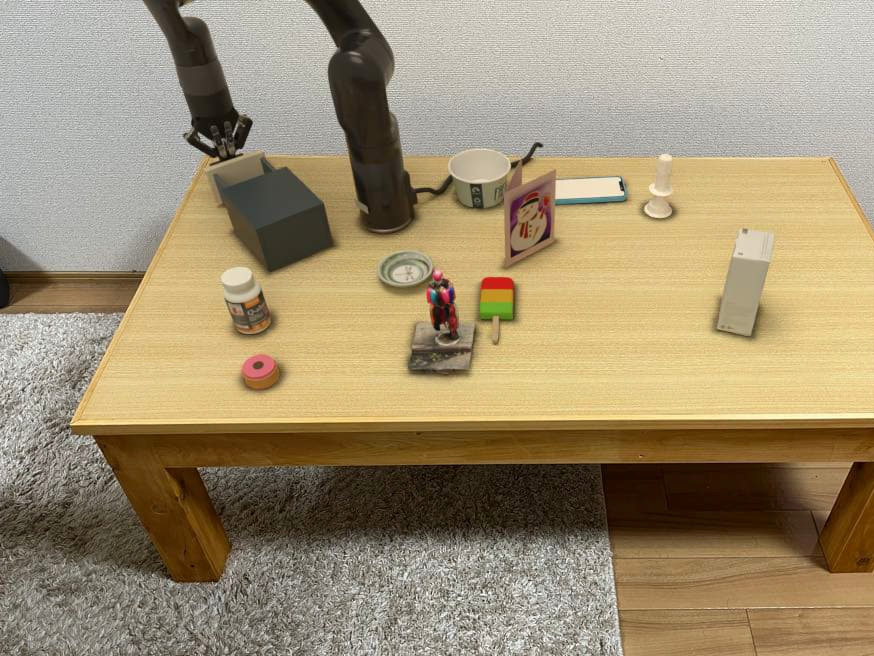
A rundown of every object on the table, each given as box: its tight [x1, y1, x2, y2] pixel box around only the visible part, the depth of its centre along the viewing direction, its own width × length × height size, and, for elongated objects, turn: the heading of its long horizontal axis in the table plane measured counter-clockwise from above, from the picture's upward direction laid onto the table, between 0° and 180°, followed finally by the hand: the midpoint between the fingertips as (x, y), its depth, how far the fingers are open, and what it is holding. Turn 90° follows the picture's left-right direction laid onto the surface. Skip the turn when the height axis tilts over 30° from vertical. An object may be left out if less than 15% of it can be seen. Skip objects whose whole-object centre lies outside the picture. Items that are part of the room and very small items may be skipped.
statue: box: [406, 268, 476, 375], centre depth 117 cm, size 11×9×15 cm
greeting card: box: [503, 157, 557, 268], centre depth 134 cm, size 11×7×15 cm, turn 131°
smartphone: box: [555, 175, 627, 205], centre depth 151 cm, size 8×1×15 cm
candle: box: [643, 153, 675, 219], centre depth 143 cm, size 5×5×12 cm
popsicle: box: [478, 276, 515, 342], centre depth 127 cm, size 6×15×2 cm, turn 0°
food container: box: [447, 148, 512, 209], centre depth 148 cm, size 12×12×6 cm
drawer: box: [202, 148, 277, 210], centre depth 144 cm, size 18×11×7 cm, turn 38°
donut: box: [241, 354, 281, 390], centre depth 116 cm, size 5×5×3 cm
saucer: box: [376, 249, 434, 289], centre depth 133 cm, size 10×10×2 cm
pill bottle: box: [220, 266, 272, 335], centre depth 121 cm, size 6×6×10 cm
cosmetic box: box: [716, 227, 776, 337], centre depth 122 cm, size 8×6×15 cm
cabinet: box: [220, 166, 335, 273], centre depth 137 cm, size 15×13×9 cm
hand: (232, 171), depth 147 cm, fingers closed
